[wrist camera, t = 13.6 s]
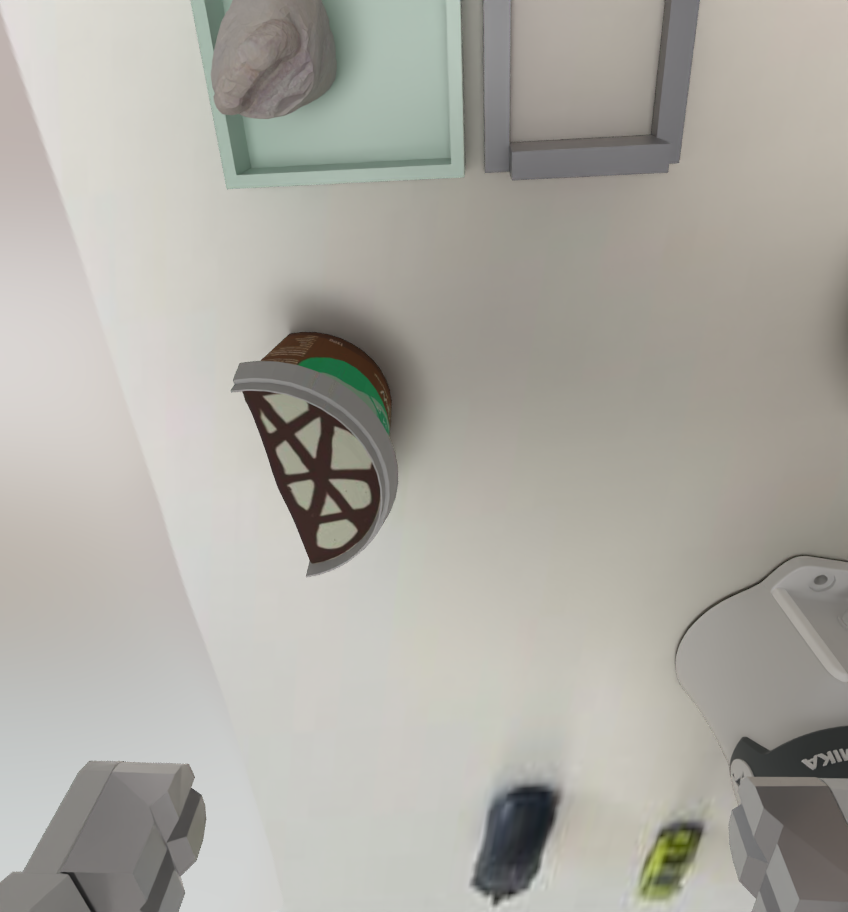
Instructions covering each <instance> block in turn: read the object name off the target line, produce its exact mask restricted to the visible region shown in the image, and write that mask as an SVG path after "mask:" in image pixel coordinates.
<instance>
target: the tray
mask: <svg viewBox="0 0 848 912" xmlns="http://www.w3.org/2000/svg"><path fill="white" fill-rule="evenodd" d="M232 1H233V0H191V5H192V11H193V16H194V21H195V26H196V31H197V37H198V42H199V47H200V52H201V57H202V63H203V68H204V73H205V78H206V83H207V89H208V94H209V99H210V104H211V109H212V115H213V120H214V125H215V130H216V136H217V141H218V146H219V151H220V156H221V162H222V167H223V172H224V177H225V182H226V188H227V189H239V188H259V187H279V186H300V185H320V184H340V183H360V182H381V181H401V180H421V179H441V178H461V177H464V175H465V138H464V94H463V49H462V4H461V0H321V1H322V3H323V5H324V7H325V9H326V12H327V15H328V18H329V26H330V29H331V32H332V34H333V37H334V42H335V49H336V61H337V70H336V78H335V81H334V82H333V84H332V86H331V87H330V89H329V90H328V91H326V93H325V94H323V95H322V96H320V97H319V98H318V99H316V100H314V101H313V102H311V103H309V104H307V105H305V106H302V107H300V108H299V109H297V110H296V111H294V112H292V113H290V114H287V115H285V116H281V117H275V118H270V119H255V118H249V117H245V116H242V115H240V114H236V115H225V114H222V113H221V112H219V111H218V109H217V107H216V105H215V103H214V97H213V96H214V94H215V92H214V90H213V88H212V81H211V69H212V59H213V54H214V49H215V44H216V39H217V35H218V32H219V28H220V25H221V21H222V19H223V18H224V16H225V14H226V12H227V11H228V10H229V8H230V5H231V3H232Z"/></svg>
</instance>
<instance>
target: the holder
mask: <svg viewBox="0 0 848 912" xmlns="http://www.w3.org/2000/svg"><path fill="white" fill-rule="evenodd" d="M699 2H700V0H665V7H664V17H663V26H662V36H661V45H660V55H659V64H658V74H657V83H656V93H655V102H654V112H653V121H652V131H651V135H640V136H621V137H602V138H584V139H565V140H546V141H528V142H510V26H511V0H483V30H484V145H485V173H491V172H510V176H511V179H512V180H527V179H548V178H568V177H589V176H609V175H630V174H650V173H668V168H669V164H671V163H679V160H680V152H681V144H682V136H683V128H684V120H685V113H686V105H687V97H688V89H689V81H690V73H691V65H692V57H693V49H694V42H695V34H696V26H697V18H698V10H699Z"/></svg>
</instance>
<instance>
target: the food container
mask: <svg viewBox="0 0 848 912" xmlns="http://www.w3.org/2000/svg"><path fill="white" fill-rule="evenodd" d="M233 381H234V384H235V385H234V386H233V388H232V389H231V392H240V391H242V392H243V394H244V397H245V401H246V403H247V404H248V406H249V408H250V410H251V413H252V415H253V417H254V420H255V423H256V425H257V428H258V430H259V433H260V436H261V439H262V441H263V444H264V447H265V450H266V453H267V456H268V459H269V463H270V466H271V469H272V472H273V475H274V478H275V481H276V484H277V486H278V489H279V491H280V493H281V495H282V497H283V499H284V501H285V503H286V505H287V507H288V509H289V511H290V513H291V515H292V518H293V520H294V522H295V524H296V527H297V529H298V532H299V534H300V537H301V539H302V542H303V544H304V547H305V549H306V552H307V554H308V557H309V560H310V562H309V566H308V570H307V574H306V577H311V576H316V575H320V574H323V573H326V572H329V571H332V570H334V569H336V568H338V567H340V566H342V565H344V564H345V563H347V562H349V561H350V560H351V559H352V558H354V557H355V556H356V555H358V554H359V553H360V552H361V551H362V550H364V549H365V548H366V547H367V545H368V544H369V543H370V542H371V541H372V540H373V539H374V538H375V536H376V534H377V533H378V531H379V530H380V528H381V526H382V525H383V523H384V521H385V520H386V518H387V516H388V515H389V513H390V511H391V508H392V506H393V503H394V500H395V498H396V492H397V486H398V465H397V460H396V455H395V451H394V448H393V445H392V443H391V440H390V438H389V436H390V424H391V403H392V400H391V394H390V389H389V387H388V384H387V381H386V379H385V377H384V375H383V373H382V372H381V370H380V368H379V367H378V366H377V365H376V364H375V362H374V361H373V360H372V359H371V358H370V357H369V356H368V355H367V354H366V353H365V352H363V351H362V350H361V349H359V348H358V347H356V346H355V345H353V344H351V343H349V342H347V341H345V340H343V339H341V338H338V337H335V336H332V335H328V334H322V333H316V332H300V333H292V334H289V335H288V336H287V337H286V338H285V339H283V340H282V341H281V342H280V343H279V344H278V345H277V346H276V347H275V348H274V349H273V350H272V351H271V352H269V353H268V354H267V355H266V356H265V357H264V358H263V359H262V360H261V361H253V362H244V363H240V364H239V366H238V369H237V371H236V374H235V376H234V379H233Z"/></svg>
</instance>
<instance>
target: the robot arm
mask: <svg viewBox="0 0 848 912" xmlns="http://www.w3.org/2000/svg"><path fill="white" fill-rule="evenodd" d="M819 575H821V576H819ZM817 576H819V577H817ZM676 674H677V677H678V680H679V683H680V685H681V687H682V688H683V690H684V691H685V692H686V694H687V695H688V696H689V697H690V698H691V700H692V701H693V702H694V704H695V705H696V707H697V708H698V709H699V711H700V712H701V714H702V716H703V717H704V719H705V720H706V722H707V724H708V725H709V727H710V729H711V731H712V732H713V734H714V736H715V738H716V740H717V742H718V744H719V746H720V748H721V750H722V752H723V754H724V756H725V758H726V760H727V762H728V764H729V766H730V776H731V781H732V786H733V790H734V794H735V797H736V800H737V803H738V807H736V808H735V809H733V810H732V812H731V817H730V821H729V845H730V849H731V854H732V859H733V863H734V866H735V870H736V873H737V876H738V879H739V881H740V882H741V883H742V885H743V886H744V887H745V888H746V889H747V890H748V891H749V892H750V893H751V894H752V895H753V896H754V897H755V898H756V901H755V904H754V907H753V910H752V912H848V562H843V561H837V560H830V559H824V558H817V557H810V556H799V557H795V558H792V559H790V560H788V561H787V562H785V563H784V564H782V565H781V566H780V567H778V568H777V569H776V570H775V571H774V572H772V573H771V574H770V575H769V576H768V577H767V578H766V579H765V580H764V581H762V582H761V583H759V584H758V585H756V586H754V587H752V588H750V589H748V590H745V591H743V592H741V593H739V594H736V595H734V596H732V597H730V598H728V599H726V600H724V601H722V602H720V603H719V604H717V605H716V606H714V607H713V608H711V609H710V610H708V611H707V612H706V613H705V614H703V615H702V616H701V617H700V618H699V619H698V620H697V621H696V622H695V623H694V624H693V625H692V626H691V627H690V629H689V630H688V631H687V633H686V634H685V636H684V637H683V639H682V641H681V643H680V645H679V648H678V651H677V655H676ZM194 778H195V777H194V774H193V772H192V770H191V767H190V765H189V764H173V763H140V762H124V761H89V762H88V763H87V764H86V765H85V766H84V767H83V768H82V769H81V770H80V771H79V772H78V774H77V776H76V778H75V779H74V781H73V783H72V785H71V786H70V788H69V790H68V792H67V793H66V795H65V797H64V799H63V801H62V802H61V804H60V806H59V808H58V810H57V811H56V813H55V815H54V817H53V819H52V820H51V822H50V824H49V826H48V827H47V829H46V831H45V833H44V834H43V836H42V838H41V840H40V842H39V843H38V845H37V847H36V849H35V851H34V852H33V854H32V856H31V858H30V859H29V861H28V863H27V865H26V867H25V868H24V870H23V872H12V873H11V874H10V875H8V876H7V877H6V878H5V879H4V880H3V881H1V882H0V912H179V909H180V906H181V903H182V900H183V898H184V895H185V890H184V887H183V883H182V880H181V875H182V874H183V873H184V872H185V871H186V870H188V868H189V867H190V866H192V865H193V864H194V862H196V860H197V857H198V854H199V851H200V848H201V845H202V842H203V837H204V830H205V823H206V811H205V803H204V801H203V798H202V795H201V794H199V793H198V792H197V791H195V790H194V789H192V788H191V786H192V783H193V781H194Z"/></svg>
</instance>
